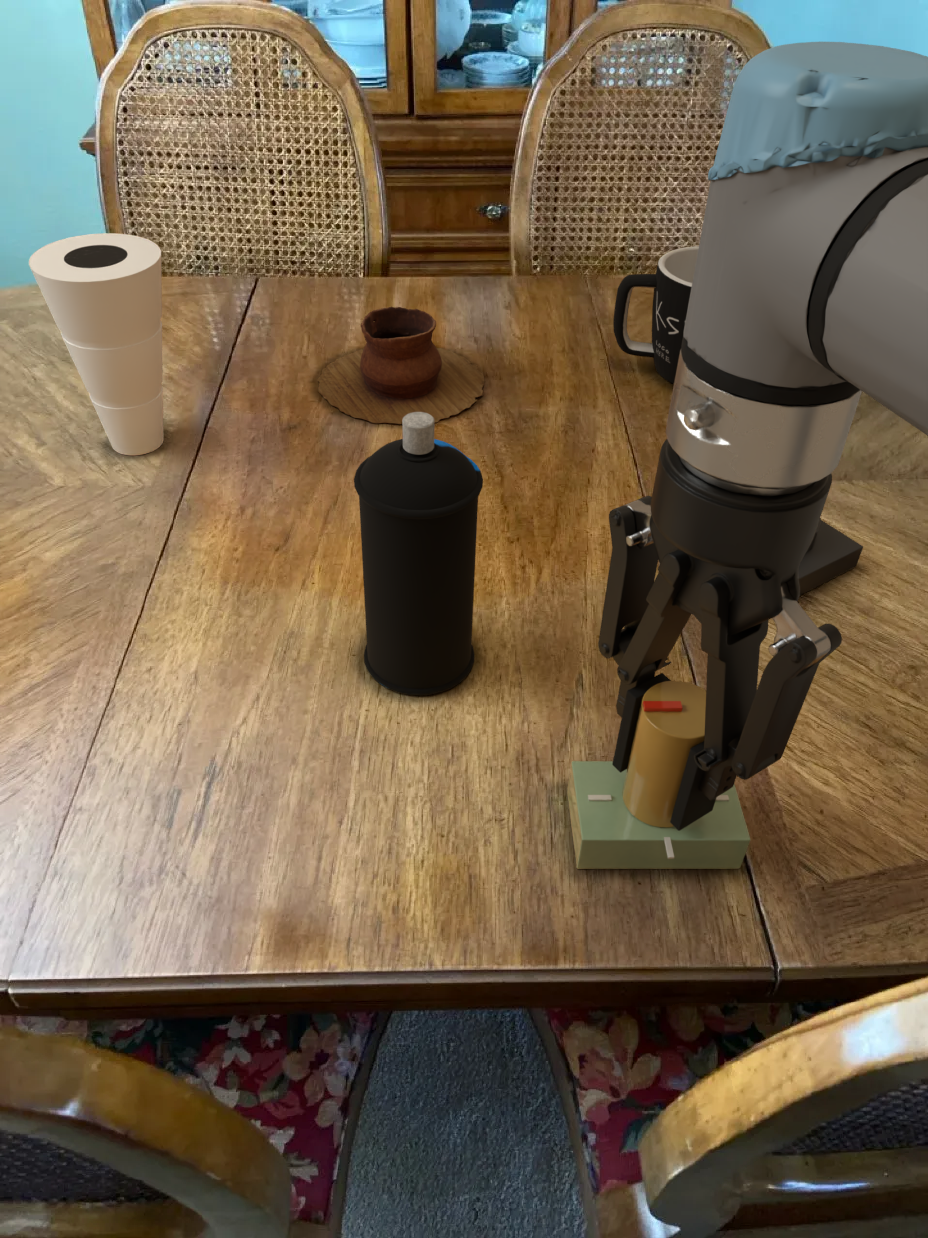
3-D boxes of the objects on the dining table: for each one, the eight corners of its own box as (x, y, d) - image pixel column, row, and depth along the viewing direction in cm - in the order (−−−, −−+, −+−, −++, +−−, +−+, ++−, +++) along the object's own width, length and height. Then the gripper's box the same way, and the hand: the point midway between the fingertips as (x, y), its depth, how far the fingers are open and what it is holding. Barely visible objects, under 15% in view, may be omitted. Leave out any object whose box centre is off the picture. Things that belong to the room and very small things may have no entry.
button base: (856, 567, 81) (870, 528, 79) (775, 608, 77) (787, 569, 74) (759, 503, 88) (769, 466, 85) (679, 538, 84) (687, 500, 81)
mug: (593, 360, 108) (606, 254, 100) (697, 329, 115) (717, 227, 107) (693, 424, 98) (717, 312, 90) (801, 386, 105) (832, 278, 97)
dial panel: (714, 775, 64) (724, 743, 62) (745, 888, 58) (757, 857, 55) (564, 774, 64) (569, 743, 62) (578, 888, 57) (584, 857, 55)
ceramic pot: (303, 420, 97) (296, 355, 92) (332, 341, 110) (328, 281, 106) (481, 430, 96) (484, 365, 92) (488, 349, 110) (491, 289, 105)
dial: (687, 770, 60) (713, 676, 55) (701, 828, 57) (731, 734, 52) (617, 770, 60) (636, 676, 55) (627, 828, 57) (649, 734, 51)
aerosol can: (435, 713, 67) (438, 470, 54) (341, 668, 71) (322, 428, 57) (494, 646, 73) (510, 410, 60) (404, 607, 76) (400, 374, 63)
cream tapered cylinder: (66, 431, 94) (14, 246, 82) (172, 404, 99) (137, 225, 87) (99, 484, 87) (48, 291, 76) (210, 452, 92) (179, 266, 80)
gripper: (558, 390, 46) (524, 721, 62) (852, 588, 35) (722, 927, 51) (673, 354, 49) (613, 676, 65) (974, 525, 39) (816, 862, 54)
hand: (661, 786), depth 58 cm, fingers closed on dial, 4 cm apart
